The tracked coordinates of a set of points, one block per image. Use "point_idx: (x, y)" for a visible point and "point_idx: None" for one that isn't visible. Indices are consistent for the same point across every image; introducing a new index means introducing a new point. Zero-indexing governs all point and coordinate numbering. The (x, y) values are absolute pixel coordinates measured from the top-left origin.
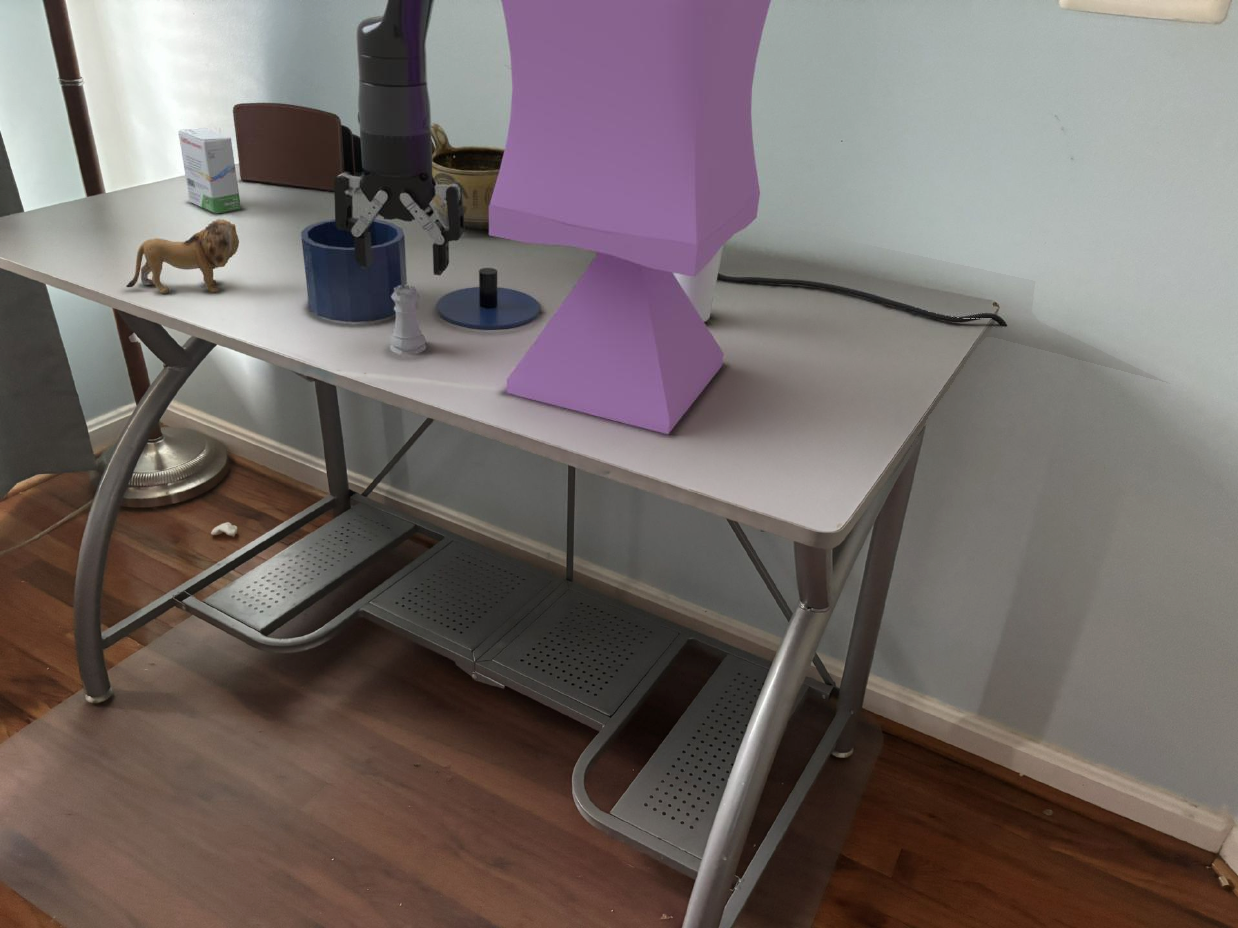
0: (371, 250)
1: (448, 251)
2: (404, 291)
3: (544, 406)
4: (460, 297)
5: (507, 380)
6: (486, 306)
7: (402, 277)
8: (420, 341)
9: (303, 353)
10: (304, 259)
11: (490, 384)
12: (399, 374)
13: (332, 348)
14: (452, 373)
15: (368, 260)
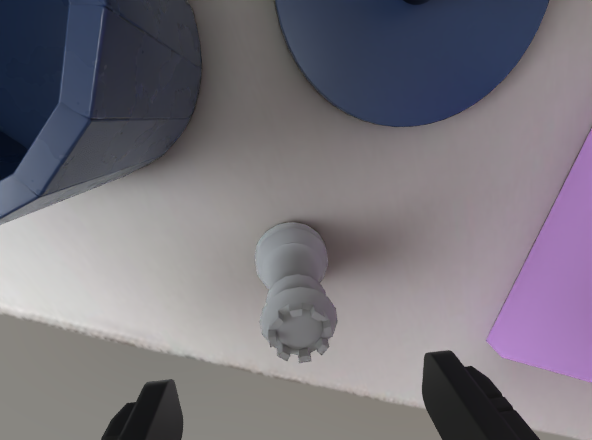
0: (152, 419)
1: (525, 426)
2: (299, 334)
3: None
4: None
5: (502, 356)
6: (419, 3)
7: (172, 30)
8: (323, 275)
9: (114, 315)
10: None
11: (457, 322)
12: None
13: (150, 282)
14: (391, 306)
15: (171, 428)
